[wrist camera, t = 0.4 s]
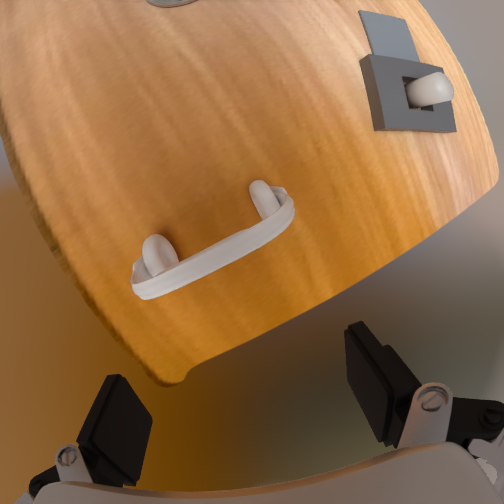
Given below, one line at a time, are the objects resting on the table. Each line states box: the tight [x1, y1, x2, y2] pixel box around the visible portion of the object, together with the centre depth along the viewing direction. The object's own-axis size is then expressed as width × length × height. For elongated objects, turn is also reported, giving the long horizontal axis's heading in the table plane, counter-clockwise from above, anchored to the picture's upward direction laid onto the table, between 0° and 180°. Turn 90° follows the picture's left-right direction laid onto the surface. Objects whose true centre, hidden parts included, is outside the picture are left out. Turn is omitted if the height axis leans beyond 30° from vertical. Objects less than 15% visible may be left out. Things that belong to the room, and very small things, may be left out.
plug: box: [404, 72, 454, 109], centre depth 30 cm, size 4×4×10 cm
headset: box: [130, 180, 295, 300], centre depth 30 cm, size 20×7×18 cm, turn 116°
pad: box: [358, 10, 420, 62], centre depth 31 cm, size 10×10×1 cm
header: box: [359, 54, 457, 133], centre depth 33 cm, size 12×16×4 cm
